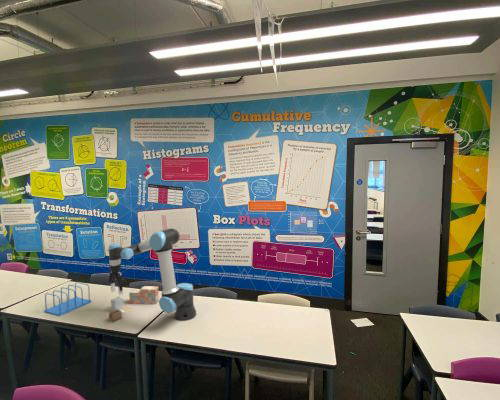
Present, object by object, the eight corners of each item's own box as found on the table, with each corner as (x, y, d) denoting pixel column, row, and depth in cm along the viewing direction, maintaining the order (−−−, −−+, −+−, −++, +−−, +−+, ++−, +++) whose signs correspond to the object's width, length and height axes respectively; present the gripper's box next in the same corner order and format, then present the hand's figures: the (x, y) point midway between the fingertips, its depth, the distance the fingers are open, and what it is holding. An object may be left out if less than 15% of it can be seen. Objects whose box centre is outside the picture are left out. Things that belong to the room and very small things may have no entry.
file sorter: (59, 317, 193) (58, 296, 192) (44, 313, 200) (42, 293, 198) (91, 302, 216) (90, 283, 215) (76, 298, 223) (75, 281, 222)
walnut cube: (122, 319, 189) (121, 311, 189) (113, 323, 184) (113, 315, 184) (117, 317, 193) (117, 309, 192) (109, 320, 188) (108, 312, 187)
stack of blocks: (129, 303, 213) (128, 288, 212) (133, 300, 220) (132, 285, 219) (155, 304, 212) (155, 289, 211) (158, 300, 218) (158, 286, 217)
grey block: (123, 308, 205) (122, 298, 204) (115, 311, 200) (115, 301, 199) (119, 306, 208) (118, 296, 208) (111, 309, 203) (110, 299, 203)
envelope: (134, 309, 203) (134, 309, 203) (113, 318, 190) (113, 318, 190) (122, 304, 213) (122, 303, 213) (102, 312, 200) (102, 312, 199)
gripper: (128, 265, 198) (130, 294, 199) (112, 260, 211) (113, 288, 212) (118, 268, 192) (120, 298, 193) (102, 263, 205) (104, 291, 206)
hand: (116, 293), depth 203 cm, fingers open, 10 cm apart
